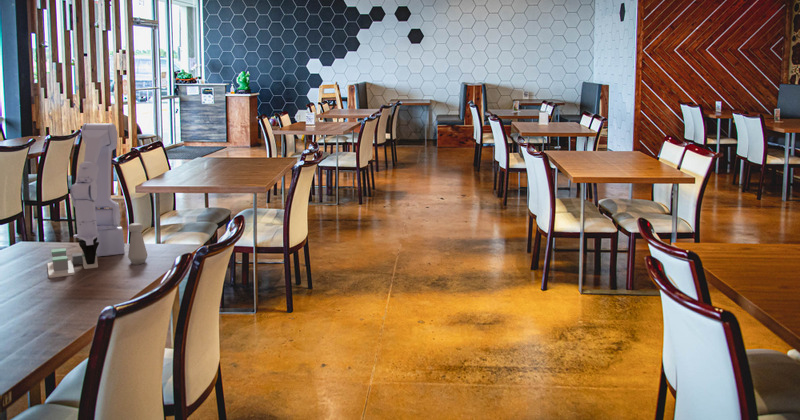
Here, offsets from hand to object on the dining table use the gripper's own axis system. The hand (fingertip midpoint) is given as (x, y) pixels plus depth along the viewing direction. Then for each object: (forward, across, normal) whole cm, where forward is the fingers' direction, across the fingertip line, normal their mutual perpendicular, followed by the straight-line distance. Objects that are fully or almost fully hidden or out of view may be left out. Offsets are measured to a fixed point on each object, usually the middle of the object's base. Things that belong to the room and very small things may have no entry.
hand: (90, 262), depth 214 cm
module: (+1, 0, 0) cm, 1 cm away
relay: (+2, -6, -2) cm, 7 cm away
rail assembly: (+1, 0, -8) cm, 9 cm away
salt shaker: (+2, +2, +14) cm, 14 cm away
